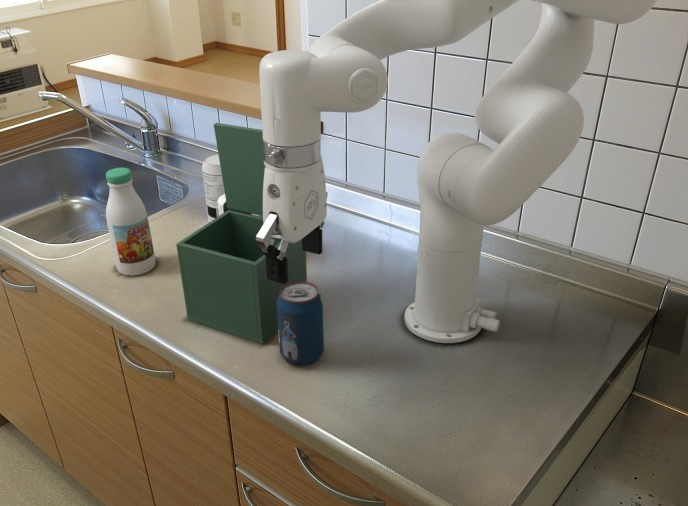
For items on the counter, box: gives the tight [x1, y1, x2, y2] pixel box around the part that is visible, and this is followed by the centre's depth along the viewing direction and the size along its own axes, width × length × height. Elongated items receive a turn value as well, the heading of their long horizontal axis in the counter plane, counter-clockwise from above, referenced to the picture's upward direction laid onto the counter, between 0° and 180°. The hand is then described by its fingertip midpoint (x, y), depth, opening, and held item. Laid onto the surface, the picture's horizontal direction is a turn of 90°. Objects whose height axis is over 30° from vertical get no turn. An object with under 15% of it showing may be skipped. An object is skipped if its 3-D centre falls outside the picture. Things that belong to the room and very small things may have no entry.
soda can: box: [277, 281, 325, 368], centre depth 102 cm, size 7×7×12 cm
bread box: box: [175, 210, 308, 345], centre depth 113 cm, size 15×16×15 cm
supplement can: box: [201, 152, 225, 223], centre depth 144 cm, size 8×8×15 cm
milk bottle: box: [105, 167, 156, 276], centre depth 128 cm, size 8×8×20 cm
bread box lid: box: [213, 122, 266, 217], centre depth 110 cm, size 15×16×1 cm
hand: (295, 266), depth 97 cm, fingers open, 9 cm apart
